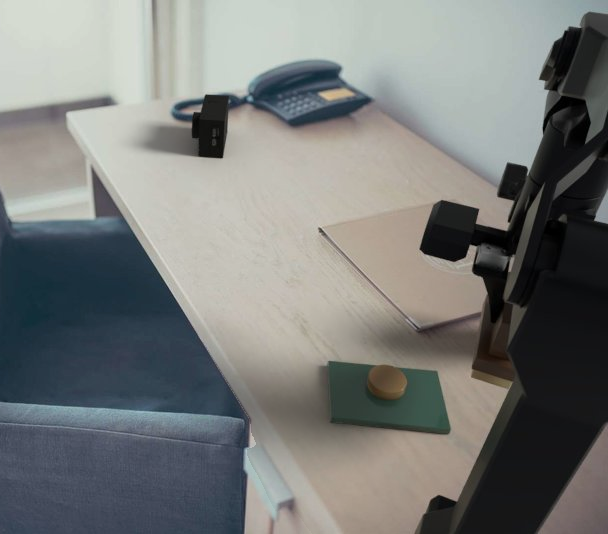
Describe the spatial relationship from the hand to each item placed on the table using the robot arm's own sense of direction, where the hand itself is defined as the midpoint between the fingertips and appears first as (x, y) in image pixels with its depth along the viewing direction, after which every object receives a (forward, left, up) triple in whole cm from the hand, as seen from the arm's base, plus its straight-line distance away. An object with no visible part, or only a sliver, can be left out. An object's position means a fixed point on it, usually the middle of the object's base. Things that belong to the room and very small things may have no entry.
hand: (506, 324), depth 61 cm
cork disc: (+8, +4, -11) cm, 14 cm away
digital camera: (+57, -31, -12) cm, 66 cm away
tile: (+8, +4, -12) cm, 15 cm away
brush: (0, 0, -4) cm, 4 cm away
